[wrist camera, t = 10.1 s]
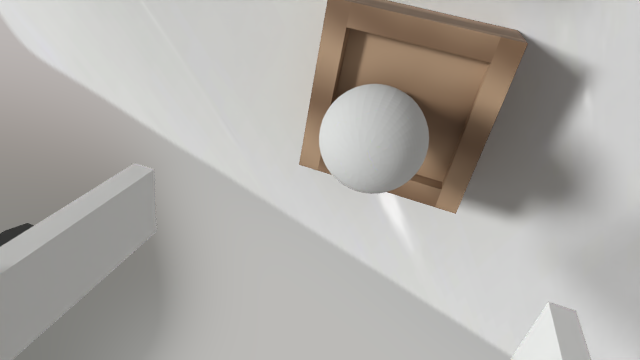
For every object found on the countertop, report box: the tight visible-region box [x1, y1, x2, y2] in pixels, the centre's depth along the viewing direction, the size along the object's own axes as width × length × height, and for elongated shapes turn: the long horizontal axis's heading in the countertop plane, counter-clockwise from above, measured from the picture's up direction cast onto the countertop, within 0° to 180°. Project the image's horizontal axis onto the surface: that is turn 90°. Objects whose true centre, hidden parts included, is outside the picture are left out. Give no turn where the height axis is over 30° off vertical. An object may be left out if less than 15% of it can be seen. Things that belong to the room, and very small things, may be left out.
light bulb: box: [319, 84, 429, 194], centre depth 24 cm, size 6×6×10 cm
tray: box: [299, 0, 528, 214], centre depth 30 cm, size 12×12×5 cm
